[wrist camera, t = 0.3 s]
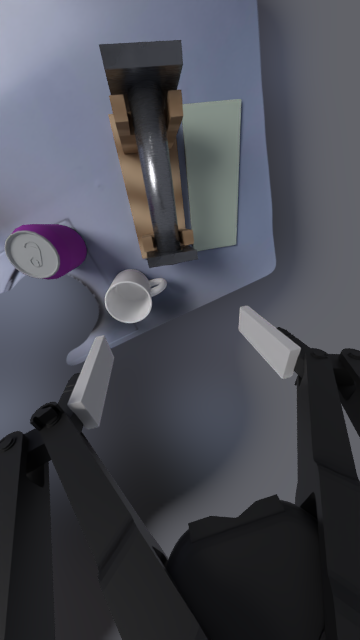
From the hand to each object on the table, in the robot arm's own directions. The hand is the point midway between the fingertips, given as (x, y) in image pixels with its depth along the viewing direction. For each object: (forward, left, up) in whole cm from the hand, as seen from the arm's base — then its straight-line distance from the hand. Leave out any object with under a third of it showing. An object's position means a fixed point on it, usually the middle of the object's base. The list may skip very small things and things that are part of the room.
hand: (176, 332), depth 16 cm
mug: (+2, -5, -27) cm, 27 cm away
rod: (-14, +2, -21) cm, 25 cm away
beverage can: (-8, -17, -27) cm, 32 cm away
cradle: (-14, +2, -26) cm, 30 cm away
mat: (-14, +14, -26) cm, 33 cm away
